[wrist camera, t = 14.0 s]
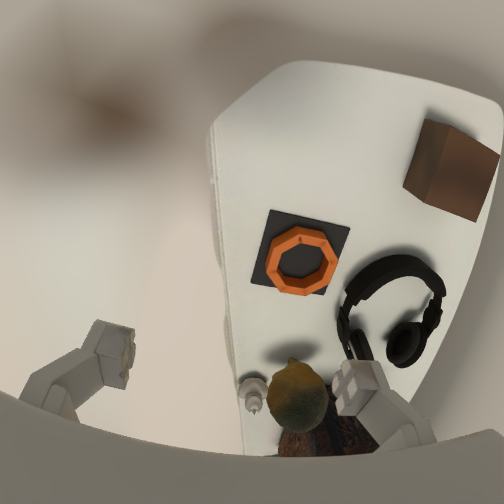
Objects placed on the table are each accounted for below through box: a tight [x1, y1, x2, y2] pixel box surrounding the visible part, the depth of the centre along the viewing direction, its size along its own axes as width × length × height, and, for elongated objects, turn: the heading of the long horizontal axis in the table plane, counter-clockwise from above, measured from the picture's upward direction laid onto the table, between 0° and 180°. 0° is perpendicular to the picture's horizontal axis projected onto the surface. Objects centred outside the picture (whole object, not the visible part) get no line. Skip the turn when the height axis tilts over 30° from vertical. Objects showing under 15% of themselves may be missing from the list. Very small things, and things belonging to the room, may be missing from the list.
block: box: [403, 119, 500, 223], centre depth 34 cm, size 10×10×6 cm
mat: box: [251, 210, 350, 295], centre depth 42 cm, size 11×11×1 cm
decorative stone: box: [266, 358, 329, 433], centre depth 46 cm, size 10×6×15 cm, turn 100°
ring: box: [265, 226, 338, 296], centre depth 41 cm, size 9×9×2 cm
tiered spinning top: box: [238, 378, 268, 415], centre depth 52 cm, size 5×7×8 cm
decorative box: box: [278, 387, 380, 457], centre depth 55 cm, size 31×20×20 cm
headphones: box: [337, 254, 446, 368], centre depth 45 cm, size 18×8×20 cm
